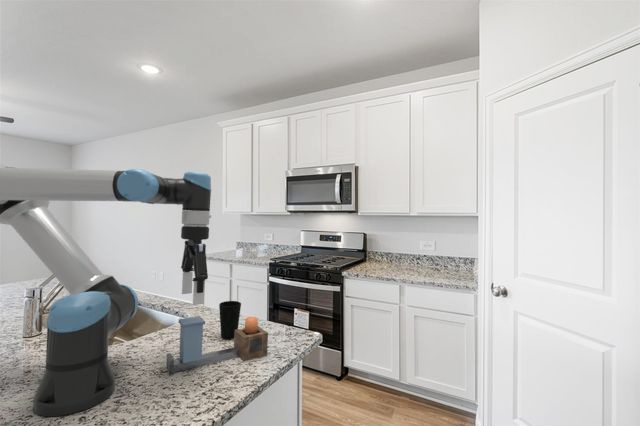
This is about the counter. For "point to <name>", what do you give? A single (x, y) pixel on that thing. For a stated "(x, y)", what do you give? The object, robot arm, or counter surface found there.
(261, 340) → the brown wooden box
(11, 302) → the counter surface
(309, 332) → the counter surface
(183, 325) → the carriage
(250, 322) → the button
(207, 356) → the rail
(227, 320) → the cup
